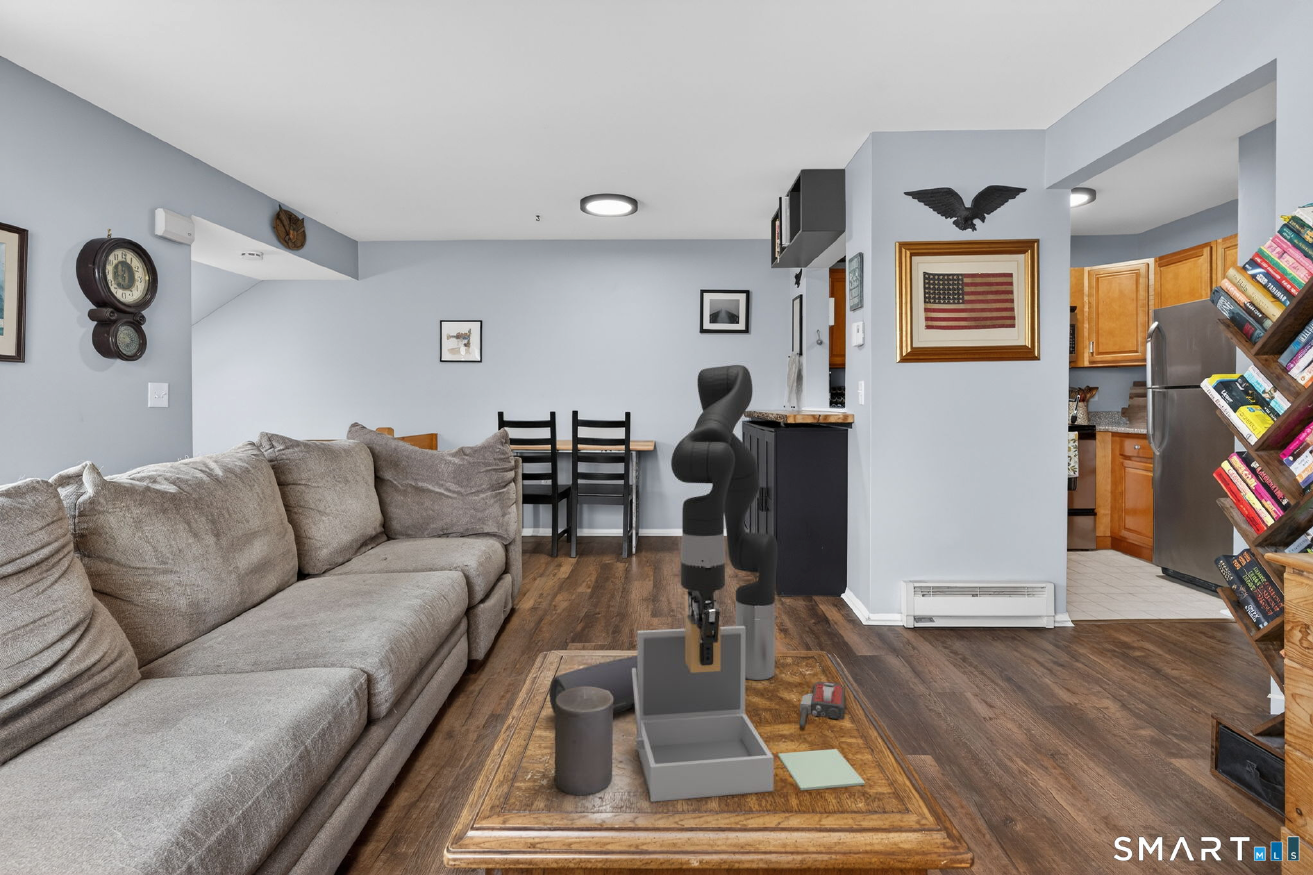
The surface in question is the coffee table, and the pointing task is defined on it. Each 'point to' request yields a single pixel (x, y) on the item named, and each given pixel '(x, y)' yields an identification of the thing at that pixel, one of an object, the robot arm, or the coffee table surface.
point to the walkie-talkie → (823, 702)
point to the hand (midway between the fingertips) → (702, 657)
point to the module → (694, 648)
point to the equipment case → (696, 721)
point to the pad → (820, 769)
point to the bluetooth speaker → (600, 681)
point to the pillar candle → (583, 740)
